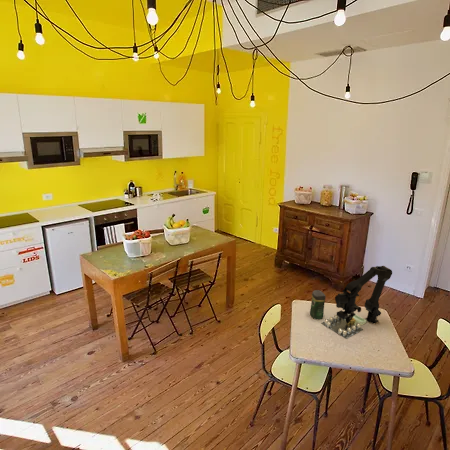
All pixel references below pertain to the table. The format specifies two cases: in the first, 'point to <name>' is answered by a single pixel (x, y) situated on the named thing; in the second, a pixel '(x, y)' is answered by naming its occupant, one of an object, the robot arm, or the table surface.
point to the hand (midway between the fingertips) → (347, 322)
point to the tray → (359, 320)
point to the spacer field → (342, 327)
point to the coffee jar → (317, 304)
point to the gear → (352, 321)
